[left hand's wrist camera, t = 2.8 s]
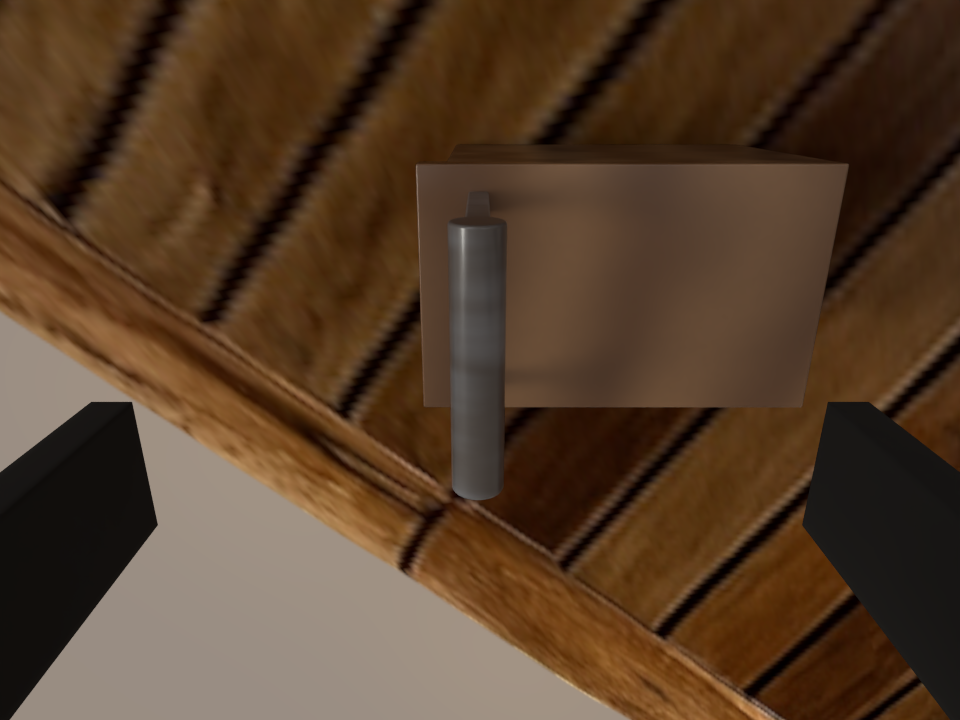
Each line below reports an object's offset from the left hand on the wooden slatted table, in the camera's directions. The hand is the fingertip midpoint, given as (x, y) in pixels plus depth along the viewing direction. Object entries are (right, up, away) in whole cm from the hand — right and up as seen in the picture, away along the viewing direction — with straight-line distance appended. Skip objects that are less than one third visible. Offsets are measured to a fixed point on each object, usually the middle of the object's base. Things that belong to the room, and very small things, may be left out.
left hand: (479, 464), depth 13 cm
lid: (+5, +5, +12) cm, 14 cm away
